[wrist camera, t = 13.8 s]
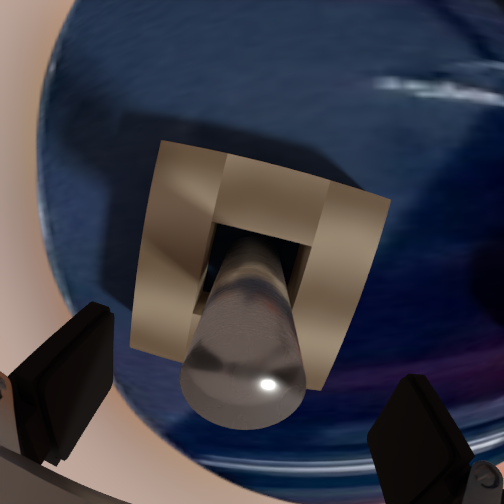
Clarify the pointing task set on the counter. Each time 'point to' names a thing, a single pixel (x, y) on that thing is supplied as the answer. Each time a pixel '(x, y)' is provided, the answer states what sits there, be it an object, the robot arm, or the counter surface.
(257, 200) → the square wooden frame
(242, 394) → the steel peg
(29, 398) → the robot arm
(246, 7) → the counter surface
